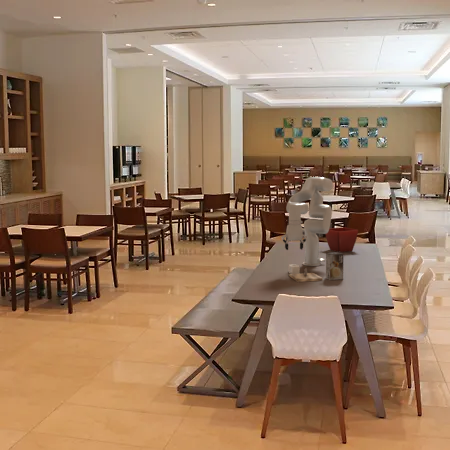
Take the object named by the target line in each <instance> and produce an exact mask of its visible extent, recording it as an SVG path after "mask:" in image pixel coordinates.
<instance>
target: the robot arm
mask: <svg viewBox="0 0 450 450" xmlns="http://www.w3.org/2000/svg"><path fill="white" fill-rule="evenodd" d="M333 184H334V183H333V181H332V179H331V178H326V177H323V176H322V177H320V176H319V177H318V176H317V177H316V176H313V177H312V176H310V177H307V178H306V179H305V182H304V183H303V186H302V188H301V189H300V191H298V192H296V193H294V194H293V195H291V197H290V198H289V200H288V202H287V203H286V207H285V208H286V209H285V210H286V212H287V213H288V224H287V226H286V232H285V234H283V235H282V236H281V237H280V238H281V240H282V241H283V243H284V248H285V250H286V251H289V242H295V241H296V242H297V241H299V250H301V251H302V250H304V261H303V262H302V263H301V264H302V265H303V266H305V267H307V266H308V267H318V266H321V265H322V264H321V263H323V262H325V263H326V258H320V257H319V253H320V251H319V249H320V248H319V247H320V241H319V240H320V239H319V237H318V235H317V234H319V235H320V234H322V235H326V233H328V231H329V228H331V222H332V215H333V209H332V207H331V206H330V205H328V204H324V203H323V202H324V196H323V195H322V194H321V192H330V191H332V189H333ZM309 200H310V202H309V204H308V203H305V201H309ZM306 214H308V216H309V217H310V218H308V219H305V220H304V223H303V220H301V219H302V215H306ZM302 224H303V226H302ZM303 229H304V230H303ZM303 231H304V232H303ZM303 248H304V249H303Z"/></svg>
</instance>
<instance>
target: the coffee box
mask: <svg viewBox="0 0 450 450" xmlns="http://www.w3.org/2000/svg"><path fill="white" fill-rule="evenodd" d="M325 279H327V280H329V281H336V280H344V253H343V252H336V251H335V252H326V253H325Z"/></svg>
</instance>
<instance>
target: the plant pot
mask: <svg viewBox="0 0 450 450" xmlns="http://www.w3.org/2000/svg"><path fill="white" fill-rule="evenodd" d="M358 233H359V229H355V228H349V227H344V226H342V227H341V226H340V227H330V228H329V231H328V233H326V234H325V239H326V242H327V245H328V248H329V250H330V251H332V250H333V251H332V252H335V253H336V252H339V253H344V252H345V253H346V252H352V251H353V250H354V248H355V245H356V241H357V238H358Z"/></svg>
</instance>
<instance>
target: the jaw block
mask: <svg viewBox="0 0 450 450" xmlns="http://www.w3.org/2000/svg"><path fill="white" fill-rule="evenodd" d="M300 270H301V269H300V265H298V264H288V273H289V274H299V273H301V272H300Z"/></svg>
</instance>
